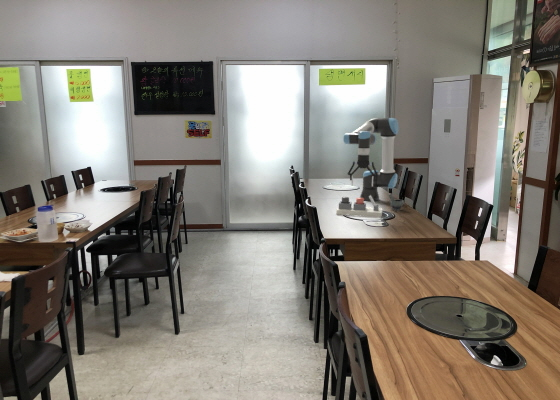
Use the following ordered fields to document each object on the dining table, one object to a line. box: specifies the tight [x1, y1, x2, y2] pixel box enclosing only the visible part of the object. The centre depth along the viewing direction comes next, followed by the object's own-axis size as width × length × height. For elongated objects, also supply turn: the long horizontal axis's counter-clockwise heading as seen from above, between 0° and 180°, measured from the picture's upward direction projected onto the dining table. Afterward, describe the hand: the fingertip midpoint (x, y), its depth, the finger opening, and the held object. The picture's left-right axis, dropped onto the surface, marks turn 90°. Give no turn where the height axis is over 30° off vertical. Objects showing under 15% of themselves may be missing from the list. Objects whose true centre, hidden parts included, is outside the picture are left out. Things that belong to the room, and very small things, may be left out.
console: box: [335, 200, 383, 218], centre depth 311 cm, size 16×30×7 cm, turn 76°
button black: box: [341, 196, 350, 204], centre depth 313 cm, size 5×5×5 cm
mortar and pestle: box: [387, 192, 405, 212], centre depth 323 cm, size 11×9×12 cm
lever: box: [369, 196, 377, 207], centre depth 308 cm, size 4×1×10 cm, turn 166°
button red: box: [355, 197, 365, 204], centre depth 311 cm, size 5×5×5 cm
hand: (362, 185), depth 308 cm, fingers open, 13 cm apart
